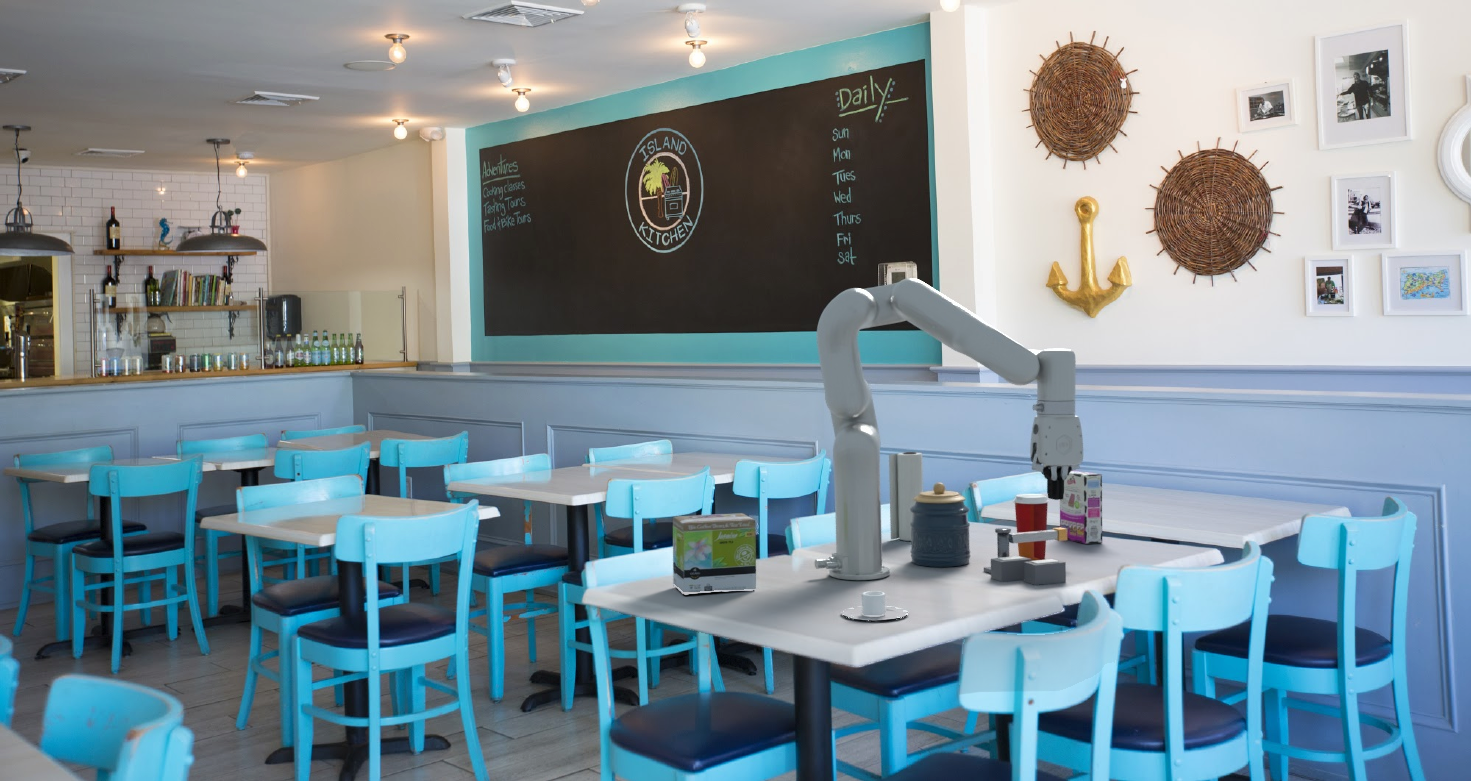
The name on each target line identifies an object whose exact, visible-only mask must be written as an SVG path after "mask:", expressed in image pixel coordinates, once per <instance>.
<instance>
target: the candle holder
mask: <svg viewBox="0 0 1471 781" xmlns="http://www.w3.org/2000/svg"><path fill="white" fill-rule="evenodd" d="M858 607H862V610H861V614H862V613H863V614H864V615H882V614H885V613H886V614H887V612H886V611H887V610H886V609H885V607H893V606H890V605H886V593H885V592H884V591H879V590H870V591H863V592H862V593H861V605H860V606H858ZM894 607H895V608H896V609H903V607H902V608H901V607H897V606H894ZM848 609H854V608H853V607H849V608H848ZM842 611H843V612H844V610H842ZM903 612H908V613H909V611H908V610H906V609H905V610H903ZM908 613H906V614H905V615H907V616H909V614H908ZM841 615H842V616H843V615H844V614H841ZM896 617H897V618H900V617H898V616H896ZM851 618H852V617H851ZM847 619H850V618H849V617H848V618H847ZM900 619H903V618H902V617H901V618H900ZM867 622H870V621H869V620H868V621H867Z"/></svg>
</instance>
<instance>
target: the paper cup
mask: <svg viewBox="0 0 1471 781" xmlns="http://www.w3.org/2000/svg"><path fill="white" fill-rule="evenodd" d="M1048 499H1049V498H1048V495H1045V494H1043V493H1018V494H1016V495H1015V497H1014V498H1013V500H1012V503H1014V509H1015V510H1014V512H1015V523H1016V524H1015V525H1016V533H1021V532H1032V531H1044V530H1048V529H1047V526H1048V525H1047V523H1048V503H1050V499H1049V500H1048ZM1046 548H1047V540H1045V541H1034V542H1023V543H1017V549H1018V556H1022V557H1026V558H1029V559H1031V561H1036V560H1046Z"/></svg>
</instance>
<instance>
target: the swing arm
mask: <svg viewBox="0 0 1471 781" xmlns="http://www.w3.org/2000/svg"><path fill="white" fill-rule="evenodd" d="M1045 540H1046V541H1058V542H1060V541H1061V542H1062V541H1068V540H1067V529H1065V528H1061V527H1060V526H1059V527H1052V529H1047V530H1044V531H1032V532H1021V533H1017V532H1013V533H1009V544H1018V543H1023V542H1034V541H1045Z"/></svg>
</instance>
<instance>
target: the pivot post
mask: <svg viewBox="0 0 1471 781" xmlns="http://www.w3.org/2000/svg"><path fill="white" fill-rule="evenodd" d="M994 532H995V533H996V536H997V538H996V540H997V544H996V545H997V546H996V548H997V558H1001V557H1010V542H1009V534H1010V533H1011V532H1012V529H1011V528H1007V527H998V528H997V527H996V528H995V529H994ZM983 572H985V573H988V574H991V566H987V567H986V566H984V567H983Z"/></svg>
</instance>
